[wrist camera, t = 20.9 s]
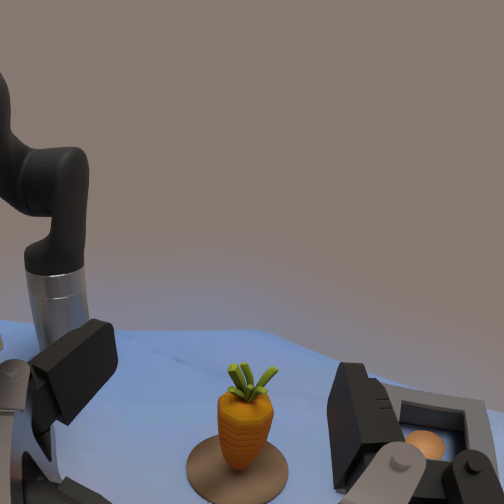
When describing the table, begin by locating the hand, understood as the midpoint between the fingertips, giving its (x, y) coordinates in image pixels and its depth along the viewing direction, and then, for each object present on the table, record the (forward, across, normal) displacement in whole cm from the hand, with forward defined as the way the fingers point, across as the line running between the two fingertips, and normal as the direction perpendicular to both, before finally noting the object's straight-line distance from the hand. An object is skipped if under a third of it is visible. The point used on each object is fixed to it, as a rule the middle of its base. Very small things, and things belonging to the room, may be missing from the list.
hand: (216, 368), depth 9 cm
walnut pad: (+11, 0, +23) cm, 25 cm away
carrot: (+10, 0, +22) cm, 25 cm away
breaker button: (+12, -23, +22) cm, 34 cm away
